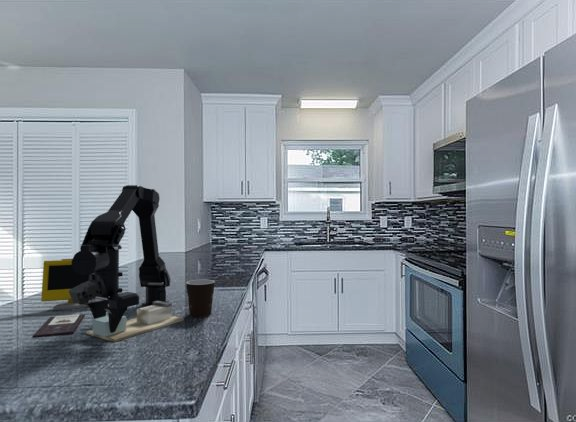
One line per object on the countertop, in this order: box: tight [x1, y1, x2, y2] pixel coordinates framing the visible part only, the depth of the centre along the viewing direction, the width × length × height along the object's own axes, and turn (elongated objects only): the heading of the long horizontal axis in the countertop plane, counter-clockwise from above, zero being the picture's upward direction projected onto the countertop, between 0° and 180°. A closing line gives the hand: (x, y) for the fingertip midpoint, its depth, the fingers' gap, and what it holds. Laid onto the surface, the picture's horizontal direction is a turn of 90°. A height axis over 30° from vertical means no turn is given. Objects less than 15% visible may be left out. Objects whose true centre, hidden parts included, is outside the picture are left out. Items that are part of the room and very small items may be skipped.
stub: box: [92, 315, 127, 337], centre depth 97 cm, size 5×6×4 cm
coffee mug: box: [185, 279, 216, 318], centre depth 118 cm, size 12×9×10 cm
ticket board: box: [85, 301, 185, 343], centre depth 104 cm, size 12×22×5 cm, turn 149°
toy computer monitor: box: [40, 258, 90, 311], centre depth 127 cm, size 20×8×16 cm, turn 114°
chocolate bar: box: [32, 313, 86, 339], centre depth 104 cm, size 9×1×18 cm
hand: (106, 330), depth 96 cm, fingers closed on stub, 5 cm apart
